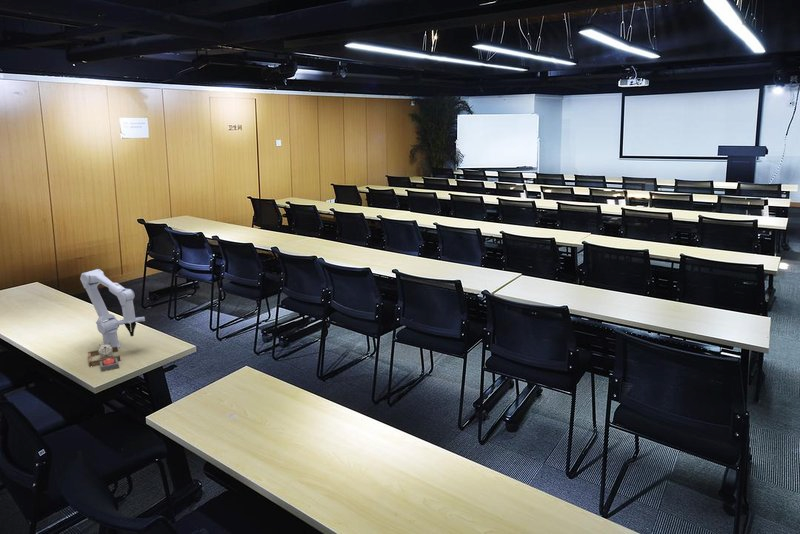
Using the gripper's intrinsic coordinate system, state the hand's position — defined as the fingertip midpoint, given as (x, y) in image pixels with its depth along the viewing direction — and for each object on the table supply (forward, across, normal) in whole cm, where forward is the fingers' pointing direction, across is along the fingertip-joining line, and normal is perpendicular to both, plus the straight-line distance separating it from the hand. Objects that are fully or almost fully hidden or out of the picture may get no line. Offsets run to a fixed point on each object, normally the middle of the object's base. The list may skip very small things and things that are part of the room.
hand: (132, 335), depth 295 cm
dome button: (+9, -13, -14) cm, 21 cm away
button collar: (+9, -13, -14) cm, 21 cm away
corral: (+9, -14, -1) cm, 17 cm away
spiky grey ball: (+10, -14, -1) cm, 17 cm away
